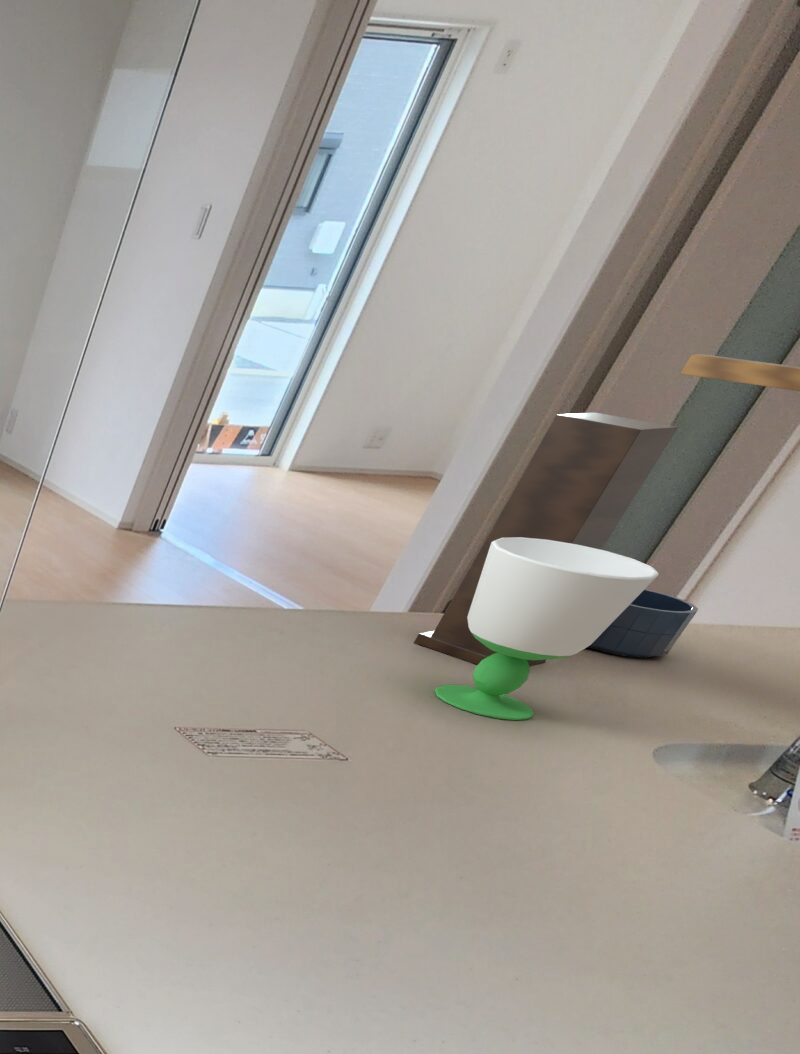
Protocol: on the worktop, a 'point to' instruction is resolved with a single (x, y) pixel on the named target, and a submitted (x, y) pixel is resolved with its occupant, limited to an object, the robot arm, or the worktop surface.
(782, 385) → the wooden bar
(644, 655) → the bowl
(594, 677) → the worktop surface
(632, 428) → the tall brown box
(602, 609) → the cup
